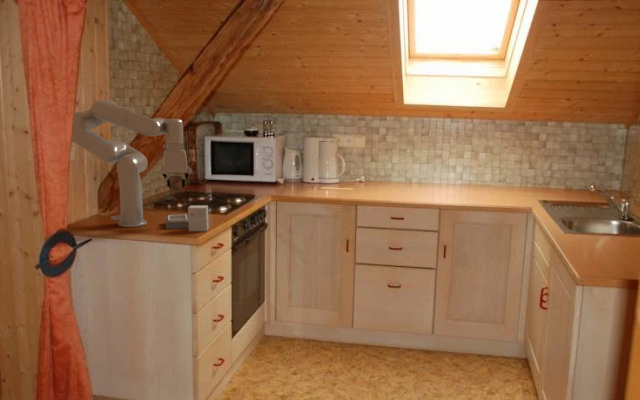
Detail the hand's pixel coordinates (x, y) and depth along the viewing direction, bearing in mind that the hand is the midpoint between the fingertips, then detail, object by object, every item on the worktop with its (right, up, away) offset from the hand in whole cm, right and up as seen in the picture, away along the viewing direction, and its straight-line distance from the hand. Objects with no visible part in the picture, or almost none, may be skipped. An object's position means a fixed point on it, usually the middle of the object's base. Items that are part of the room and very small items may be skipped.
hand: (176, 187), depth 272 cm
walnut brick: (0, -1, 0) cm, 1 cm away
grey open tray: (0, -17, +4) cm, 17 cm away
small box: (+11, -19, -4) cm, 22 cm away
